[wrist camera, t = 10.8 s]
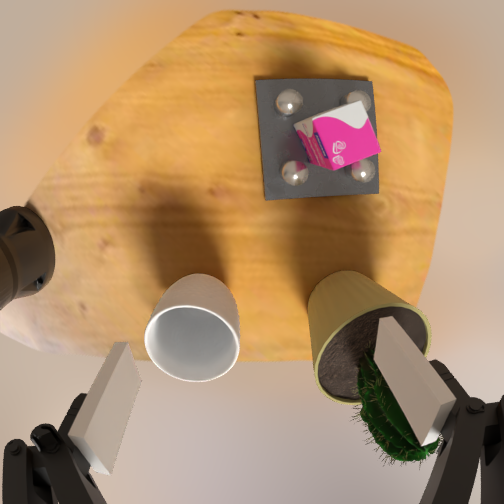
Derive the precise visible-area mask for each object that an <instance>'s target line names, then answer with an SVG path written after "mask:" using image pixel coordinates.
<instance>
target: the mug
mask: <svg viewBox="0 0 504 504" xmlns="http://www.w3.org/2000/svg"><path fill="white" fill-rule="evenodd" d="M144 342H145V347H146V350H147V352H148V355H149V356H150V358H151V360H152V361H153V362H154V363H155V365H156V366H157V367H158V368H160V369H161V370H162V371H164V372H165V373H166V374H168V375H170V376H172V377H174V378H177V379H180V380H184V381H190V382H202V381H209V380H212V379H215V378H218V377H220V376H222V375H223V374H225V373H226V372H227V371H229V370H230V368H231V367H232V366H233V365H234V363H235V362H236V360H237V357H238V354H239V349H240V322H239V314H238V309H237V304H236V302H235V299H234V298H233V295H232V293H231V292H230V290H229V289H228V288H227V286H226V285H225V284H224V283H223V282H221V281H220V280H219V279H217V278H215V277H213V276H210V275H206V274H198V273H196V274H191V275H187V276H185V277H182V278H181V279H179V280H177V282H175V283H173V285H171V286H170V287H169V289H167V290H166V292H165V293H164V294H163V295H162V297H161V298H160V299H159V302H158V303H157V305H156V307H155V309H154V311H153V313H152V314H151V317H150V319H149V322H148V324H147V326H146V329H145V335H144Z"/></svg>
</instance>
